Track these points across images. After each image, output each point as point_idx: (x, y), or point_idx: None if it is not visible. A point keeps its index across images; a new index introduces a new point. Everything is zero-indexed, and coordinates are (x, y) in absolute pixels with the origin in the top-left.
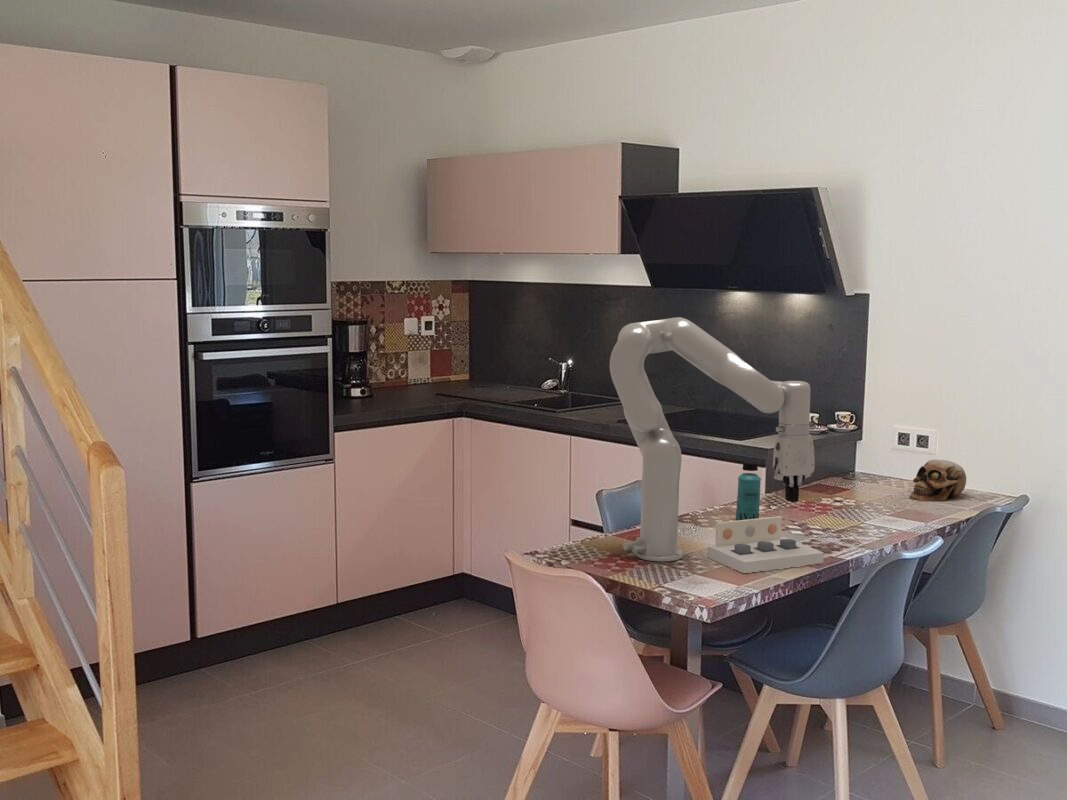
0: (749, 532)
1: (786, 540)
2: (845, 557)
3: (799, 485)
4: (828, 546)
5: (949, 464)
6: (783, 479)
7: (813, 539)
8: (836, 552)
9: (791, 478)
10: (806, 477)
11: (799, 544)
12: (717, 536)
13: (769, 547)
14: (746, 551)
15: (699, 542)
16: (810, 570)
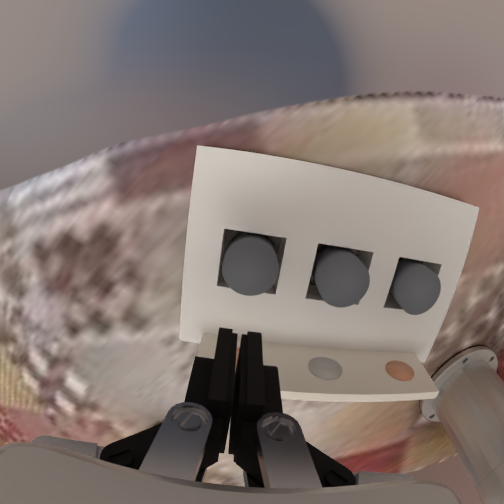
0: (328, 365)
1: (250, 277)
2: (94, 173)
3: (186, 409)
4: (69, 274)
5: None
6: (352, 480)
7: (69, 333)
8: (83, 223)
9: (290, 477)
10: (83, 444)
11: (194, 262)
12: (424, 368)
13: (352, 256)
14: (426, 267)
15: (327, 427)
16: (291, 119)
